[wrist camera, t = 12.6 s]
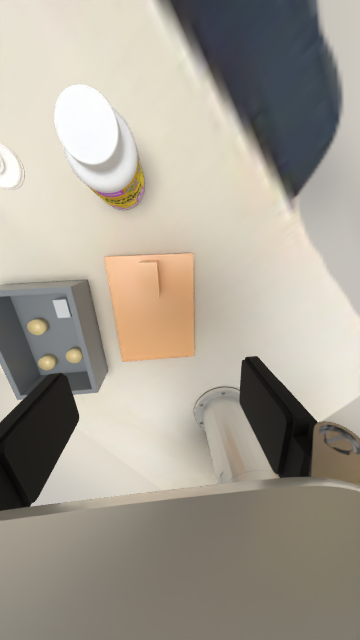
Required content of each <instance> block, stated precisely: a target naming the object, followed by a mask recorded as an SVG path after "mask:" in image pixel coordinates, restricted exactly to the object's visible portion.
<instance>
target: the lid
mask: <svg viewBox="0 0 360 640" xmlns="http://www.w3.org/2000/svg"><path fill="white" fill-rule="evenodd" d="M104 259H105V265H106V270H107V276H108V282H109V287H110V293H111V299H112V304H113V310H114V316H115V321H116V327H117V333H118V339H119V344H120V350H121V356H122V361H123V362H124V361H137V360H150V359H162V358H175V357H188V356H194V253H183V254H158V255H133V256H108V257H104Z"/></svg>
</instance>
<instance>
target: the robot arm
mask: <svg viewBox="0 0 360 640" xmlns="http://www.w3.org/2000/svg"><path fill="white" fill-rule="evenodd" d="M194 414H195V419H196V421H197V423H198V424H199V425H200V426H201V427H202V428H204V429H205V432H206V437H207V441H208V445H209V450H210V454H211V459H212V463H213V467H214V472H215V476H216V480H217V484H216V485H207V486H198V487H190V488H181V489H172V490H164V491H156V492H147V493H138V494H130V495H122V496H114V497H105V498H97V499H89V500H81V501H73V502H65V503H57V504H49V505H41V506H33V507H30V505H31V504H32V503H33V502H35V501H36V500H37V498H38V497H39V495H40V492H41V491H42V489H43V487H44V485H45V483H46V481H47V479H48V478H49V476H50V474H51V472H52V470H53V468H54V466H55V464H56V463H57V461H58V459H59V457H60V455H61V453H62V451H63V449H64V448H65V446H66V444H67V442H68V440H69V438H70V436H71V434H72V433H73V431H74V429H75V427H76V425H77V423H78V421H79V413H78V410H77V406H76V403H75V400H74V397H73V394H72V390H71V387H70V384H69V381H68V378H67V376H66V375H64V374H63V373H54V374H49V375H47V376H46V377H45V378H44V379H43V380H42V381H41V382H40V383H39V384H38V385H37V386H36V387H35V388H34V389H33V390H32V391H31V392H30V393H29V394H28V395H27V396H26V397H25V398H24V399H23V400H22V401H21V402H20V404H18V405H17V406H16V407H15V408H14V409H13V410H12V411H11V412H10V413H9V414H8V415H7V416H6V417H5V418H4V419H3V420H2V421H1V422H0V640H360V438H359V437H358V436H357V435H355V434H354V433H353V432H352V431H350V430H348V429H347V428H345V427H343V426H341V425H339V424H336V423H332V422H325V421H323V422H317V421H316V420H315V419H314V418H313V416H312V415H311V414H310V413H309V412H308V411H307V410H306V409H305V408H304V407H303V406H302V404H301V403H300V402H299V401H298V400H297V399H296V398H295V397H294V396H293V395H292V393H291V392H290V391H289V390H288V389H287V388H286V387H285V386H284V385H283V384H282V382H280V381H279V380H278V379H277V378H276V377H275V375H274V374H273V373H272V372H271V371H270V370H269V369H268V368H267V367H266V366H265V364H264V363H263V362H262V361H261V360H260V359H259V358H258V357H257V356H253V357H246V358H245V360H242V367H241V381H240V391H239V390H237V389H234V388H228V387H222V388H216V389H213V390H211V391H209V392H207V393H205V394H204V395H203V396H202V397H201V398H200V399H199V400H198V401H197V403H196V405H195V409H194ZM277 474H279V476H280V478H279V477H278V475H277Z"/></svg>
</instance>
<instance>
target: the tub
mask: <svg viewBox="0 0 360 640" xmlns="http://www.w3.org/2000/svg"><path fill="white" fill-rule="evenodd" d="M0 364H1V366H2V368H3V370H4V373H5V375H6V377H7V379H8V381H9V383H10V385H11V387H12V389H13V392H14V393H15V396H16V398H17V400H21V399H24V398H25V397H26V396H27V395H28V394H29V393H30V392H31V391H32V390H33V389H34V388H35V387H36V386H37V385H38V384H39V383H40V382H41V381H42V380H43V379H44V378H45V377H46V376H47V375H49V374H54V373H63V374H64V375H66V376H67V378H68V381H69V384H70V387H71V390H72V394H73V395H76V394H86V393H97V392H98V391H99V389H100V387H101V385H102V383H103V381H104V378H105V376H106V374H107V372H108V368H107V364H106V359H105V355H104V350H103V346H102V341H101V337H100V332H99V328H98V323H97V319H96V314H95V310H94V305H93V301H92V296H91V292H90V287H89V283H88V280H74V281H56V282H37V283H19V284H3V285H0Z"/></svg>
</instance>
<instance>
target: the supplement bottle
mask: <svg viewBox="0 0 360 640" xmlns="http://www.w3.org/2000/svg"><path fill="white" fill-rule="evenodd" d="M54 122H55V127H56V131H57V134H58V137H59V139H60V141H61V143H62V145H63V147H64V152H65V155H66V158H67V160H68V163H69V165H70V166H71V168H72V170H73V171H74V173H75V174H76V175H77V176H78V178H79V179H80V180H81V181H82V182H83V183H84V184H86V185H87V186H88V187H89V188H90V189H91V190H93V191H94V192H95V193H96V194H97V195H98V196H99V197H101V198H102V199H103V200H104V201H105V202H106V203H108V204H109V205H110V206H112V207H114V208H116V209H120V210H126V209H130V208H133V207H134V206H136V205H137V204H138V203H139V201H140V200H141V198H142V196H143V193H144V176H143V172H142V168H141V163H140V159H139V155H138V151H137V147H136V143H135V140H134V137H133V134H132V132H131V130H130V127H129V126H128V124H127V123H126V121H125V120H124V118H123V117H122V116H121V115H120V114H119V113H118V112H117V111H116V110H115V109H113V108H112V107H111V105H110V104H109V102H108V101H107V100H106V98H105V97H104V96H103V95H102V94H101V93H100V92H98V91H97V90H95V89H94V88H92V87H90V86H87V85H83V84H75V85H72V86H69V87H67V88H66V89H65V90H63V91H62V93H61V94H60V95H59V97H58V99H57V101H56V104H55V109H54Z"/></svg>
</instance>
